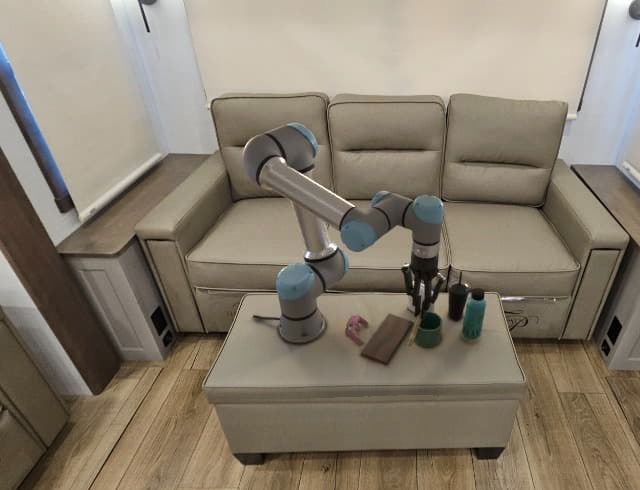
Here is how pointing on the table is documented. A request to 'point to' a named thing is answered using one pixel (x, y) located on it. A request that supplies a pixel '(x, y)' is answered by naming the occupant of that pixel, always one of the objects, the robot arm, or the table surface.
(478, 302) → the beverage bottle
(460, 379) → the table surface
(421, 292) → the photo printer
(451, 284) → the drinking cup
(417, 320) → the stirrer
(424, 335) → the coffee cup
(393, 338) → the board
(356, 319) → the video game controller
